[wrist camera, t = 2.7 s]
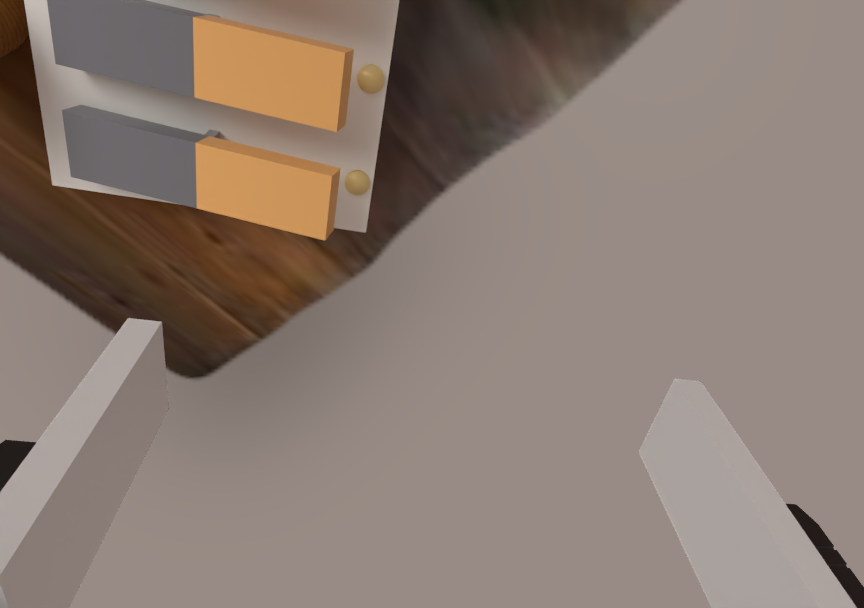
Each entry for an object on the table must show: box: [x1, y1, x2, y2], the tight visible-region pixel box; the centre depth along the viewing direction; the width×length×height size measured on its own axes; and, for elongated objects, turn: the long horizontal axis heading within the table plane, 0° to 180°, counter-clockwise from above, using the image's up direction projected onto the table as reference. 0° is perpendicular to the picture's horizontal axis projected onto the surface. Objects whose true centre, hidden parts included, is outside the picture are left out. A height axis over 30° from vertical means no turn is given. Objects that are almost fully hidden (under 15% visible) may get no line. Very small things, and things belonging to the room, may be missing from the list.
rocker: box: [62, 105, 341, 240], centre depth 35 cm, size 16×4×2 cm, turn 79°
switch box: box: [24, 0, 399, 233], centre depth 35 cm, size 20×20×8 cm
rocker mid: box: [47, 0, 354, 132], centre depth 31 cm, size 16×4×2 cm, turn 79°
